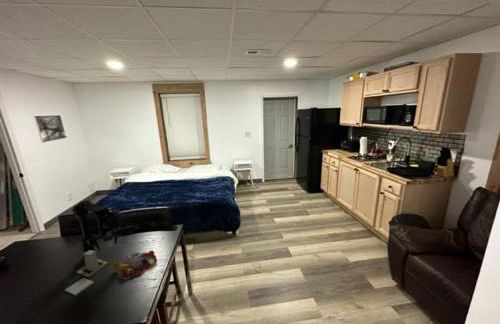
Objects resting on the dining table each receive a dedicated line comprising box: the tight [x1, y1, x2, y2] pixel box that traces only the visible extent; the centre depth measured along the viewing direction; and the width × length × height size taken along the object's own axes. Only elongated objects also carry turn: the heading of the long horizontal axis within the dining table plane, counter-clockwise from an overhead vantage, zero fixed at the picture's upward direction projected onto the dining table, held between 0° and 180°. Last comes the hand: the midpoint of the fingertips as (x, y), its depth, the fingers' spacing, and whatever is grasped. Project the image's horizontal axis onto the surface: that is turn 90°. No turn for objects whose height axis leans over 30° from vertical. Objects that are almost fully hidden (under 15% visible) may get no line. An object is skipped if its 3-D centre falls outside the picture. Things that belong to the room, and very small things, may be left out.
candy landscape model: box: [111, 250, 158, 280], centre depth 139 cm, size 25×24×9 cm
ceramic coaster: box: [64, 277, 95, 296], centre depth 123 cm, size 10×10×1 cm
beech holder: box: [76, 258, 109, 278], centre depth 138 cm, size 12×13×1 cm
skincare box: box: [83, 250, 100, 272], centre depth 137 cm, size 6×4×12 cm
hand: (107, 247), depth 138 cm, fingers open, 9 cm apart
